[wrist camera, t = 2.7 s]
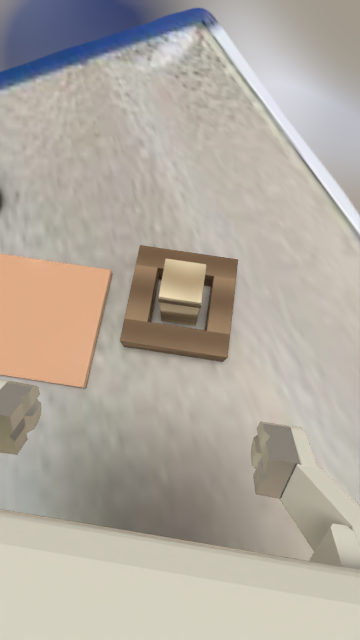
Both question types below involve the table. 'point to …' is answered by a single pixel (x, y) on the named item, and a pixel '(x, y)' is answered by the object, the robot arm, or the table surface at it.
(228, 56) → the table surface
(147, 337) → the walnut collar holder
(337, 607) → the robot arm
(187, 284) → the block
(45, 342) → the terracotta tile
